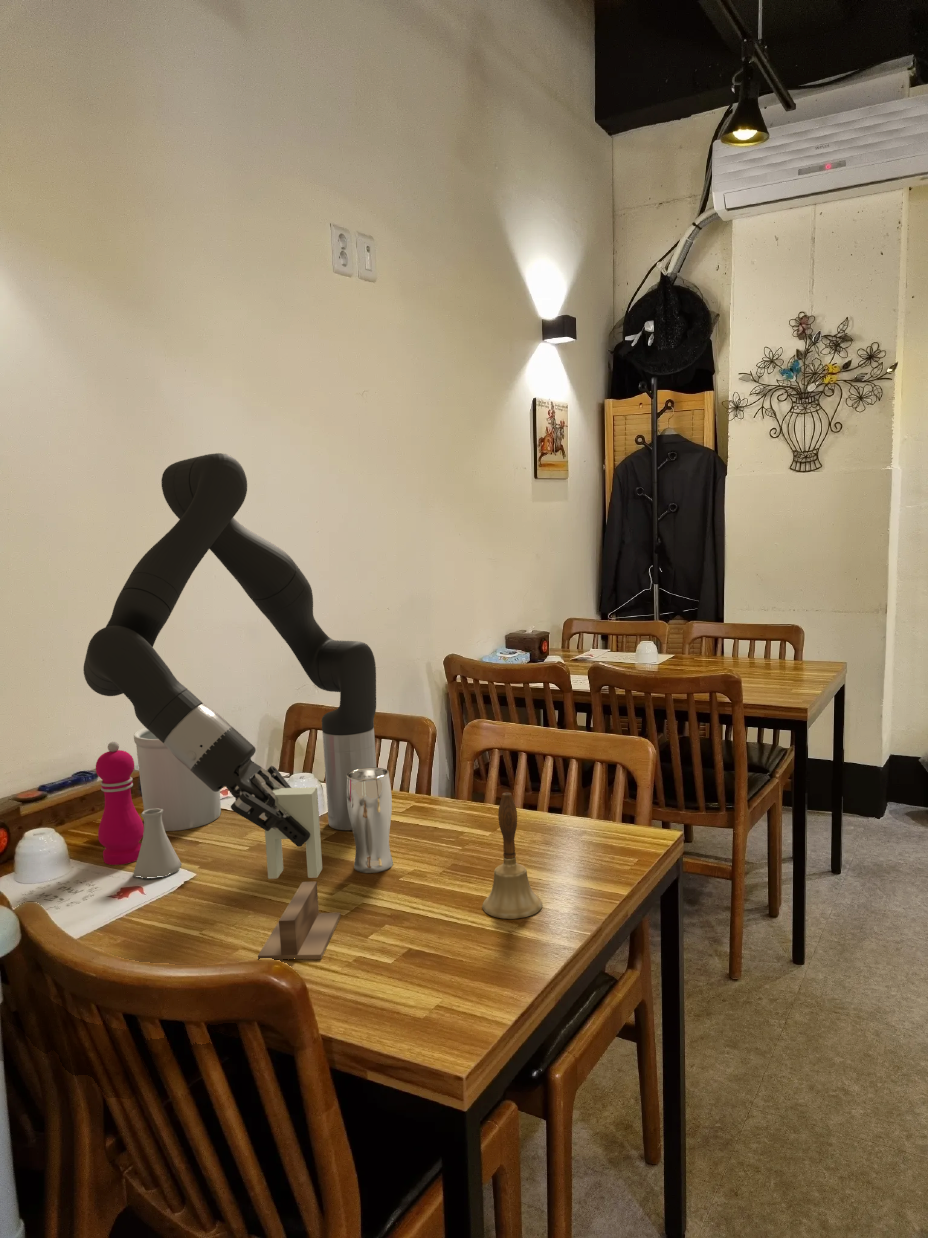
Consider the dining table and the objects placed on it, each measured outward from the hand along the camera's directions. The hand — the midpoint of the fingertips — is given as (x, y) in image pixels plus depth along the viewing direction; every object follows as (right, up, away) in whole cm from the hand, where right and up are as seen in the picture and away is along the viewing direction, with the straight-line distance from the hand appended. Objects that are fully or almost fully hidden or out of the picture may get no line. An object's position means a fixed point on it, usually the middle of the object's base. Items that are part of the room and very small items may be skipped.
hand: (308, 836), depth 115 cm
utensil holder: (-33, -10, +54) cm, 64 cm away
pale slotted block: (-2, -5, +1) cm, 5 cm away
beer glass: (+6, -11, +25) cm, 28 cm away
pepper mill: (-37, -12, +34) cm, 52 cm away
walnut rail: (-1, -14, +2) cm, 14 cm away
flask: (-29, -13, +28) cm, 42 cm away
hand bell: (+27, -12, +8) cm, 30 cm away
